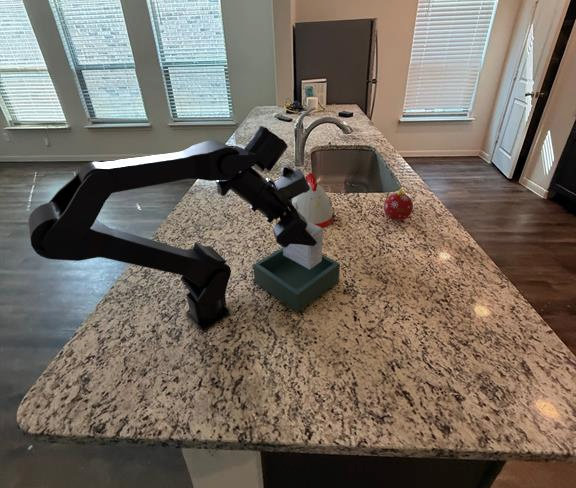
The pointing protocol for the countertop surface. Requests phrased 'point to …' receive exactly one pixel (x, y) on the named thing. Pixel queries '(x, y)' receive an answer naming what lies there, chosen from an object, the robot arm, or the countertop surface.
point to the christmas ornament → (398, 206)
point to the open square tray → (295, 279)
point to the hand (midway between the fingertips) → (308, 232)
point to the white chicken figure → (314, 204)
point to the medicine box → (307, 249)
